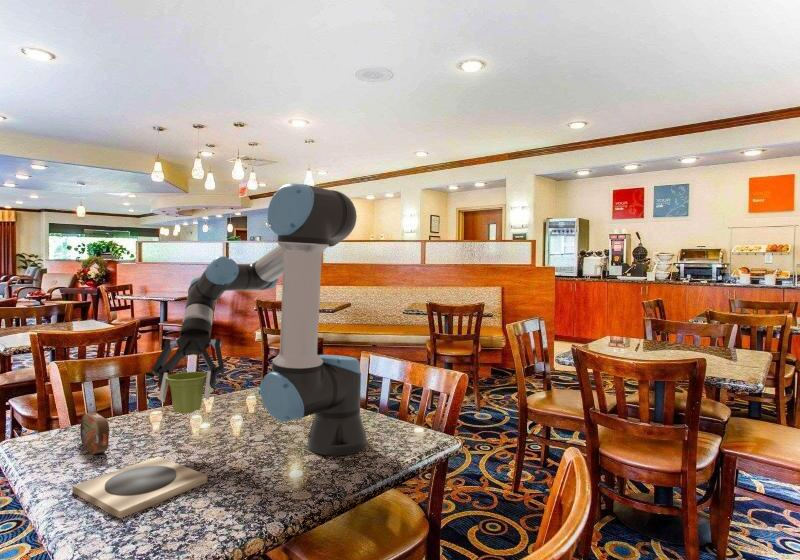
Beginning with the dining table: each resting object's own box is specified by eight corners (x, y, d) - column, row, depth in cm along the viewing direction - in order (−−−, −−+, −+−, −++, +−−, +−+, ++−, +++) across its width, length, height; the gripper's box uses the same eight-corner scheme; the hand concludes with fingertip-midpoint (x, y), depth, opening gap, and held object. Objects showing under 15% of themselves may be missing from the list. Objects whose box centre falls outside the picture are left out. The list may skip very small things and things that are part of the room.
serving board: (207, 482, 101) (207, 473, 101) (119, 519, 86) (119, 509, 86) (158, 462, 111) (158, 454, 111) (72, 492, 96) (72, 484, 96)
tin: (79, 442, 123) (78, 410, 123) (93, 439, 125) (93, 407, 125) (96, 459, 113) (96, 423, 112) (111, 455, 115) (111, 420, 115)
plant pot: (167, 407, 121) (167, 373, 120) (207, 403, 124) (207, 370, 124) (165, 417, 112) (165, 381, 112) (208, 413, 116) (208, 377, 116)
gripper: (240, 332, 135) (234, 403, 120) (155, 334, 130) (138, 408, 115) (238, 315, 130) (231, 387, 115) (150, 316, 125) (130, 392, 110)
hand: (184, 397), depth 115 cm, fingers closed on plant pot, 9 cm apart
